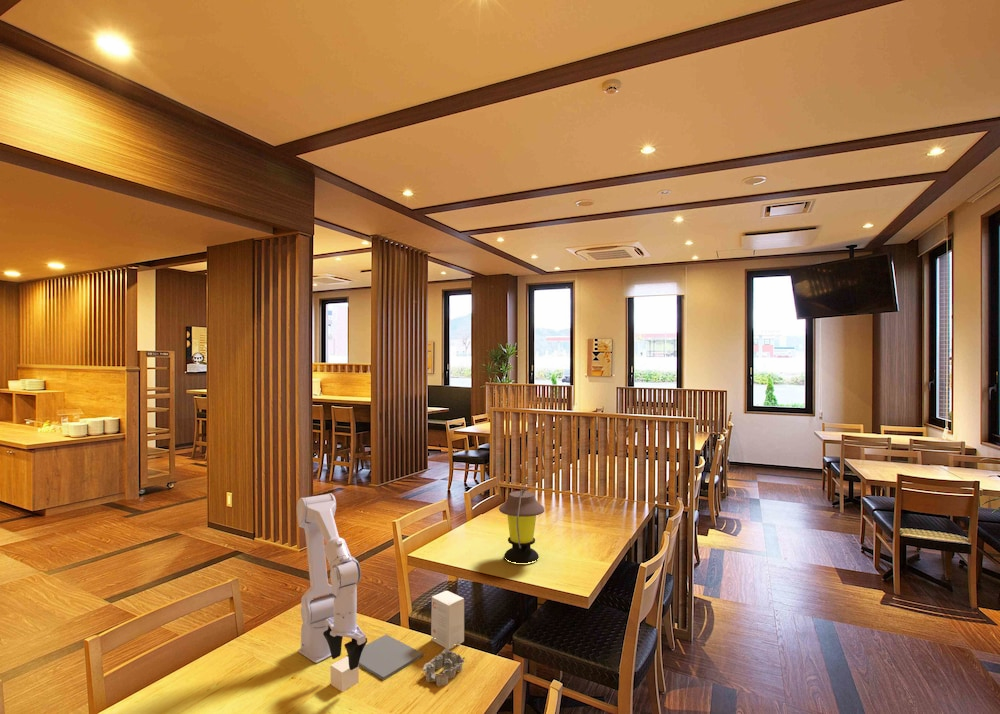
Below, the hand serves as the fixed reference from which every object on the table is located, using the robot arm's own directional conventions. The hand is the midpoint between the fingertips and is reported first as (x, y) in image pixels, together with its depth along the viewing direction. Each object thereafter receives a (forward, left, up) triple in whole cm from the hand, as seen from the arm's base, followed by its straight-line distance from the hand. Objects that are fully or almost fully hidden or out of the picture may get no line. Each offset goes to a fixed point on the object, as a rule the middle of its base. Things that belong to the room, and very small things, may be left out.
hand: (344, 662), depth 132 cm
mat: (-1, +14, -5) cm, 15 cm away
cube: (0, 0, -6) cm, 6 cm away
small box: (+7, +31, -6) cm, 32 cm away
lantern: (-13, +97, -6) cm, 98 cm away
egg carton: (+17, +19, -6) cm, 26 cm away
